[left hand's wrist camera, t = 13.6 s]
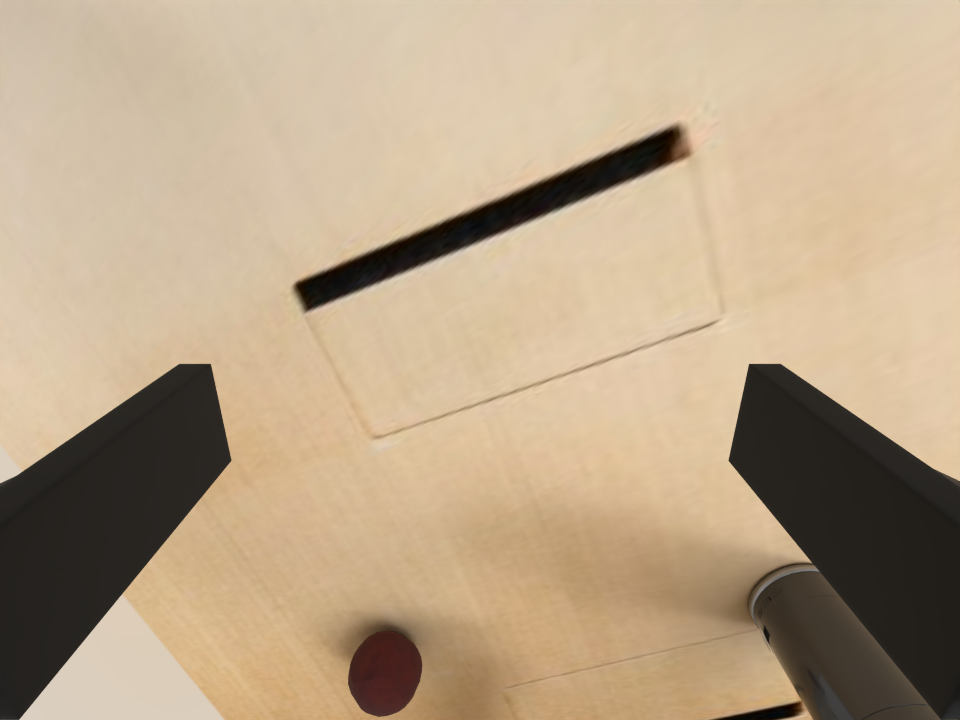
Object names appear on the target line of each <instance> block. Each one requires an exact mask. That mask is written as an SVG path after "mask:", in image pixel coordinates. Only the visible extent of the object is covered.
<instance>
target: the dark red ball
mask: <svg viewBox="0 0 960 720" xmlns="http://www.w3.org/2000/svg"><path fill="white" fill-rule="evenodd" d="M421 673H422V660H421V656H420V653H419V651H418V649H417V648H416V646H415V645H414V644H413V643H412V642H411V641H410V640H408V639H407V638H406V637H404V636H402V635H400V634H398V633H396V632H392V631H383V632H378V633H375V634H373V635H371V636H369V637H368V638H367V639H366V640H365V641H364V642H363V643H362V644H361V645H360V646H359V648H358V649H357V651H356V652H355V654H354V656H353V659H352V661H351V664H350V670H349V675H348V685H349V688H350V691H351V694H352V696H353V697H354V699H355V700H356V702H357V703H358V705H359V707H360V708H361V709H362V710H363V711H364V712H366V713H368V714H371V715H374V716H378V717H381V716H388V715H391V714H394V713H396V712H399V711H400V710H402V709H403V708H404V707H405V706H406V705H407V704H408V703H409V702H410V700H411V699H412V698H413V696H414V693H415V691H416V689H417V686H418V684H419V682H420V678H421Z"/></svg>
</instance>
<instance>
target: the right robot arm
mask: <svg viewBox="0 0 960 720" xmlns="http://www.w3.org/2000/svg"><path fill="white" fill-rule="evenodd" d="M748 607H749V613H750V615H751V617H752V619H753V620H754V622H755V624H756V625H757V627H758V628H759V629H760V631H761V633H762V636H763V639H764V642H765V644H766V646H767V647H768V649H769V646H768V644H769V645H770V647H771V649H772V651H773V653H774V654H775V656H776V658H777V659H778V661H779V663H780V664H781V666H782V668H783V670H784V671H785V673H786V675H787V676H788V678H789V680H790V681H791V683H792V685H793V686H794V688H795V690H796V691H797V693H798V695H799V697H800V698H801V700H802V702H803V703H804V705H805V707H806V708H807V710H808V712H809V713H810V715H811V717H812V718H813V720H941V719H940V718H939V717H938V716H937V714H936V713H935V712H934V711H933V709H932V708H931V707H930V706H929V705H928V703H927V702H926V701H925V700H924V698H923V697H922V696H921V695H920V694H919V692H918V691H917V690H916V689H915V687H914V686H913V685H912V684H911V683H910V681H909V680H908V679H907V678H906V676H905V675H904V674H903V673H902V672H901V670H900V669H899V668H898V667H897V666H896V664H895V663H894V662H893V661H892V659H891V658H890V657H889V656H888V655H887V653H886V652H885V651H884V650H883V648H882V647H881V646H880V645H879V644H878V642H877V641H876V640H875V639H874V637H873V636H872V635H871V634H870V633H869V631H868V630H867V629H866V628H865V626H864V625H863V624H862V623H861V622H860V620H859V619H858V618H857V617H856V615H855V614H854V613H853V612H852V611H851V609H850V608H849V607H848V606H847V605H846V603H845V602H844V601H843V600H842V598H841V597H840V596H839V595H838V594H837V592H836V591H835V590H834V589H833V587H832V586H831V585H830V584H829V583H828V581H827V580H826V579H825V578H824V576H823V575H822V574H821V573H820V572H819V570H818V569H817V568H816V567H815V565H810V564H799V565H793V566H788V567H785V568H782V569H779V570H777V571H775V572H773V573H771V574H770V575H768V576H767V577H765V578H764V579H763V580H762V581H761V582H760V583H759V584H758V585H757V586H756V587H755V588H754V590H753V592H752V593H751V596H750V599H749V605H748ZM767 642H768V643H767ZM769 651H770V649H769Z"/></svg>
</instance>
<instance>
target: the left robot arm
mask: <svg viewBox="0 0 960 720" xmlns="http://www.w3.org/2000/svg"><path fill="white" fill-rule="evenodd" d="M230 462H231V456H230V452H229V447H228V442H227V438H226V433H225V428H224V424H223V419H222V414H221V410H220V405H219V400H218V395H217V391H216V386H215V381H214V377H213V372H212V367H211V364H179V365H177V366H176V367H174V368H173V369H171V370H170V371H168V372H167V373H166V374H164V375H163V376H161V377H160V378H158V379H157V380H155V381H154V382H152V383H151V384H150V385H148V386H147V387H145V388H144V389H142V390H141V391H139V392H138V393H136V394H135V395H134V396H132V397H131V398H129V399H128V400H126V401H125V402H123V403H122V404H120V405H119V406H118V407H116V408H115V409H113V410H112V411H110V412H109V413H107V414H106V415H104V416H103V417H102V418H100V419H99V420H97V421H96V422H94V423H93V424H91V425H90V426H88V427H87V428H86V429H84V430H83V431H81V432H80V433H78V434H77V435H75V436H74V437H72V438H71V439H70V440H68V441H67V442H65V443H64V444H62V445H61V446H59V447H58V448H56V449H55V450H54V451H52V452H51V453H49V454H48V455H46V456H45V457H43V458H42V459H40V460H39V461H38V462H36V463H35V464H33V465H32V466H30V467H29V468H27V469H26V470H24V471H23V472H22V473H20V474H19V475H17V476H15V477H13V478H11V479H9V480H7V481H5V482H3V483H0V720H19V719H20V718H21V717H22V716H23V714H24V713H25V712H26V711H27V709H28V708H29V707H30V706H31V705H32V703H33V702H34V701H35V700H36V698H37V697H38V696H39V695H40V694H41V692H42V691H43V690H44V689H45V687H46V686H47V685H48V684H49V683H50V681H51V680H52V679H53V678H54V676H55V675H56V674H57V673H58V672H59V670H60V669H61V668H62V667H63V666H64V664H65V663H66V662H67V661H68V659H69V658H70V657H71V656H72V655H73V653H74V652H75V651H76V650H77V648H78V647H79V646H80V645H81V644H82V642H83V641H84V640H85V639H86V637H87V636H88V635H89V634H90V632H91V631H92V630H93V629H94V628H95V626H96V625H97V624H98V623H99V622H100V620H101V619H102V618H103V617H104V615H105V614H106V613H107V612H108V611H109V609H110V608H111V607H112V606H113V605H114V603H115V602H116V601H117V600H118V598H119V597H120V596H121V595H122V594H123V592H124V591H125V590H126V589H127V587H128V586H129V585H130V584H131V583H132V581H133V580H134V579H135V578H136V576H137V575H138V574H139V573H140V572H141V570H142V569H143V568H144V567H145V565H146V564H147V563H148V562H149V561H150V559H151V558H152V557H153V556H154V554H155V553H156V552H157V551H158V550H159V548H160V547H161V546H162V545H163V544H164V542H165V541H166V540H167V539H168V537H169V536H170V535H171V534H172V533H173V531H174V530H175V529H176V528H177V526H178V525H179V524H180V523H181V522H182V520H183V519H184V518H185V517H186V515H187V514H188V513H189V512H190V511H191V509H192V508H193V507H194V506H195V504H196V503H197V502H198V501H199V500H200V498H201V497H202V496H203V495H204V493H205V492H206V491H207V490H208V489H209V487H210V486H211V485H212V484H213V483H214V481H215V480H216V479H217V478H218V476H219V475H220V474H221V473H222V472H223V470H224V469H225V468H226V467H227V465H228V464H229V463H230ZM729 462H730V463H731V464H732V465H733V467H734V468H735V469H736V470H737V472H738V473H739V474H740V475H741V476H742V478H743V479H744V480H745V481H746V483H747V484H748V485H749V486H750V487H751V489H752V490H753V491H754V492H755V493H756V495H757V496H758V497H759V498H760V500H761V501H762V502H763V503H764V504H765V506H766V507H767V508H768V509H769V511H770V512H771V513H772V514H773V515H774V517H775V518H776V519H777V520H778V522H779V523H780V524H781V525H782V526H783V528H784V529H785V530H786V531H787V533H788V534H789V535H790V536H791V537H792V539H793V540H794V541H795V542H796V544H797V545H798V546H799V547H800V548H801V550H802V551H803V552H804V553H805V554H806V556H807V557H808V558H809V559H810V561H811V562H812V563H813V564H814V565H815V567H816V568H817V569H818V570H819V572H820V573H821V574H822V575H823V576H824V578H825V579H826V580H827V581H828V583H829V584H830V585H831V586H832V587H833V589H834V590H835V591H836V592H837V594H838V595H839V596H840V597H841V598H842V600H843V601H844V602H845V603H846V605H847V606H848V607H849V608H850V609H851V611H852V612H853V613H854V614H855V615H856V617H857V618H858V619H859V620H860V622H861V623H862V624H863V625H864V626H865V628H866V629H867V630H868V631H869V633H870V634H871V635H872V636H873V637H874V639H875V640H876V641H877V642H878V644H879V645H880V646H881V647H882V648H883V650H884V651H885V652H886V653H887V655H888V656H889V657H890V658H891V659H892V661H893V662H894V663H895V664H896V666H897V667H898V668H899V669H900V670H901V672H902V673H903V674H904V675H905V676H906V678H907V679H908V680H909V681H910V683H911V684H912V685H913V686H914V687H915V689H916V690H917V691H918V692H919V694H920V695H921V696H922V697H923V698H924V700H925V701H926V702H927V703H928V705H929V706H930V707H931V708H932V709H933V711H934V712H935V713H936V714H937V716H938V717H939V718H940V719H941V720H960V481H958V480H956V479H954V478H952V477H950V476H947V475H945V474H943V473H941V472H939V471H937V470H935V469H933V468H931V467H930V466H928V465H927V464H925V463H924V462H922V461H921V460H920V459H918V458H917V457H915V456H914V455H912V454H911V453H909V452H908V451H906V450H905V449H904V448H902V447H901V446H899V445H898V444H896V443H895V442H893V441H892V440H890V439H889V438H888V437H886V436H885V435H883V434H882V433H880V432H879V431H877V430H876V429H874V428H873V427H872V426H870V425H869V424H867V423H866V422H864V421H863V420H861V419H860V418H858V417H857V416H856V415H854V414H853V413H851V412H850V411H848V410H847V409H845V408H844V407H842V406H841V405H840V404H838V403H837V402H835V401H834V400H832V399H831V398H829V397H828V396H826V395H825V394H824V393H822V392H821V391H819V390H818V389H816V388H815V387H813V386H812V385H810V384H809V383H808V382H806V381H805V380H803V379H802V378H800V377H799V376H797V375H796V374H794V373H793V372H792V371H790V370H789V369H787V368H786V367H784V366H783V365H781V364H749V367H748V372H747V377H746V381H745V386H744V391H743V395H742V400H741V405H740V410H739V414H738V419H737V424H736V428H735V433H734V438H733V442H732V447H731V452H730V456H729Z"/></svg>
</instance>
